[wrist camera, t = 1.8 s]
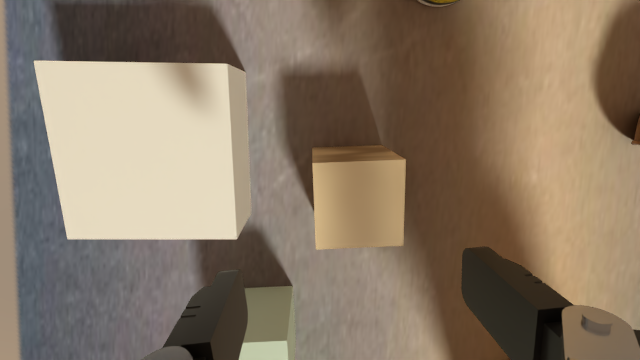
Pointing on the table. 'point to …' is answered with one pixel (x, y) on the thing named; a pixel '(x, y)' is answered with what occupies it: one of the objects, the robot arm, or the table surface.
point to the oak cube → (358, 196)
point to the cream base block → (148, 148)
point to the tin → (637, 134)
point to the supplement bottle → (437, 2)
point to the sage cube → (269, 324)
